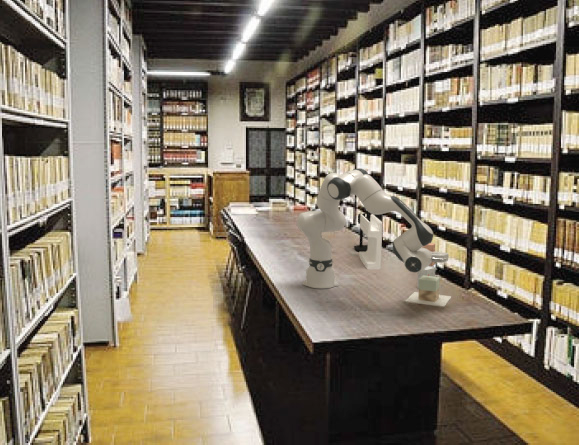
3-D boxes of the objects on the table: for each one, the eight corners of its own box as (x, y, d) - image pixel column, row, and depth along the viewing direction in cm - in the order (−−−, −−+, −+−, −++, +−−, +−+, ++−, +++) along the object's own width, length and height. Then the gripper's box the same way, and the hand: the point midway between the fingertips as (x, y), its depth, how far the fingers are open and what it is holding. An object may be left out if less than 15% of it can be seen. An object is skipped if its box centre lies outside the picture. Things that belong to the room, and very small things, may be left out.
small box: (425, 285, 291) (425, 265, 289) (434, 287, 287) (435, 267, 286) (416, 288, 285) (417, 267, 284) (426, 290, 282) (426, 269, 280)
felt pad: (405, 301, 261) (405, 300, 261) (414, 292, 277) (414, 291, 277) (444, 307, 253) (444, 306, 253) (451, 297, 269) (451, 296, 269)
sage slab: (418, 289, 262) (419, 279, 261) (422, 285, 269) (423, 275, 268) (435, 291, 259) (436, 281, 258) (439, 287, 266) (439, 277, 265)
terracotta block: (421, 265, 261) (422, 244, 260) (424, 263, 266) (424, 242, 264) (432, 266, 259) (433, 245, 258) (434, 264, 263) (435, 243, 262)
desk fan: (383, 254, 370) (385, 201, 365) (357, 254, 370) (358, 201, 365) (376, 246, 397) (378, 197, 392) (352, 246, 396) (353, 197, 391)
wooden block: (418, 299, 263) (418, 289, 262) (422, 295, 270) (422, 285, 269) (435, 301, 259) (435, 291, 259) (438, 297, 266) (439, 287, 266)
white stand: (380, 269, 326) (382, 222, 322) (367, 269, 326) (368, 222, 322) (371, 257, 361) (372, 214, 357) (359, 256, 361) (360, 214, 357)
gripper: (445, 253, 245) (451, 248, 257) (400, 249, 254) (408, 244, 266) (445, 267, 246) (451, 261, 258) (399, 262, 255) (407, 257, 267)
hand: (428, 252), depth 262 cm, fingers closed on terracotta block, 5 cm apart
